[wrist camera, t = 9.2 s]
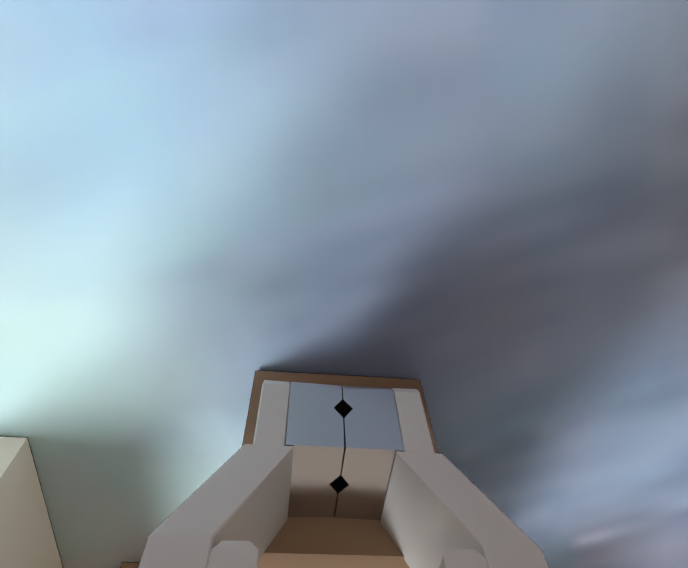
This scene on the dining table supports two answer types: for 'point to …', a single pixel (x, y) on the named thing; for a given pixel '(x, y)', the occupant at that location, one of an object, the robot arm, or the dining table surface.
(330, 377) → the t block
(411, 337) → the dining table surface
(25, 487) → the corner fence
